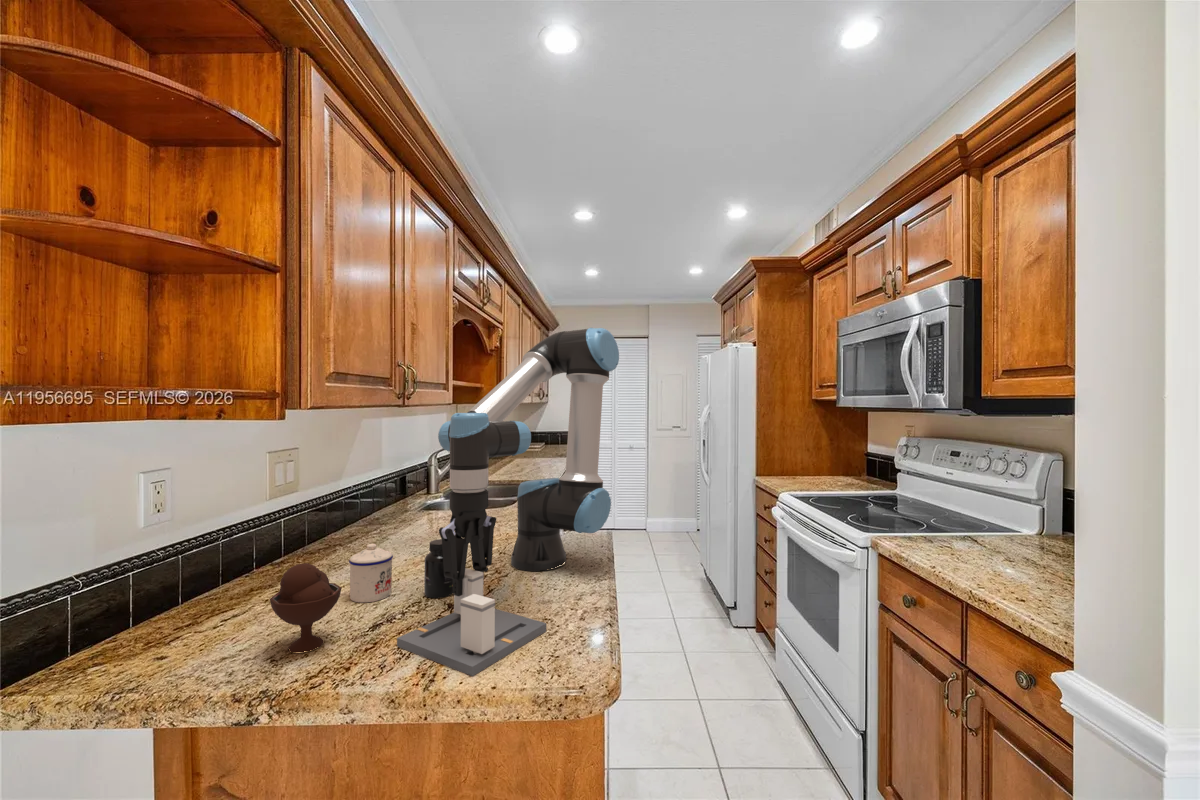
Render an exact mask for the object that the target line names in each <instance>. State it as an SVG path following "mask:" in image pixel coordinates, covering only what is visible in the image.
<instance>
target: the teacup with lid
mask: <svg viewBox="0 0 1200 800" xmlns="http://www.w3.org/2000/svg"><path fill="white" fill-rule="evenodd" d="M393 558H394V555H393V553H392V552H391V551H390V550H384V549H382V548H380V547H377V544H376V543H368V544H367V545H366V548H365V549H363V550H361V551H359V552H357V553H355V554H353V555H352V556H351V557H350V558H349V560H348V563H349V564H350V567H349V569H350V570H349V573H350V574H349V579H350V580H349V598H350V601H352V602H355V603H372V602H377V601H380V600H383V599H386V598H387V597H389V596H390V595H391V594H392V589H393V588H392V583H393V579H392V578H393V575H392V569H393V566H392V565H393V563H392V562H393Z"/></svg>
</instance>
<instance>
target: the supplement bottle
mask: <svg viewBox="0 0 1200 800" xmlns="http://www.w3.org/2000/svg"><path fill="white" fill-rule="evenodd" d="M428 548H429V549H428V551H429V552H428V553H426V556H425V558H424V575H423V577H424V581H423V582H424V586H423V587H424V588H423V590H424V591H423V592H424V595H425V596H426V597H427V598H428V599H429V598H430V599H443V598H448V597H450V596H452V595H453V579H452V578H448V577H445V576H444V567H443V551H442V539H441V538H439V539H434V540H431V541H430V542H429V547H428Z"/></svg>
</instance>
